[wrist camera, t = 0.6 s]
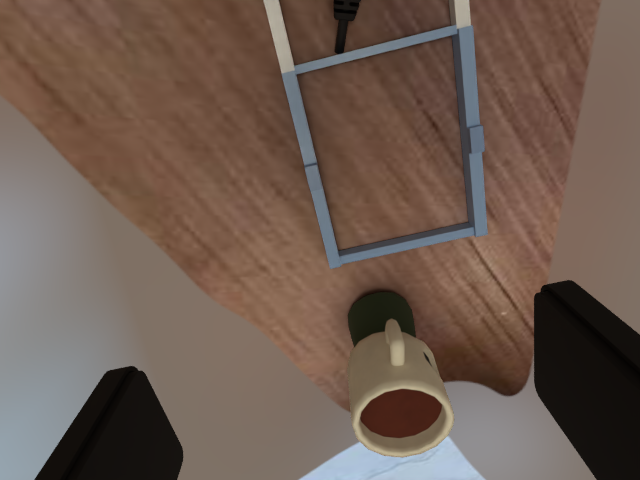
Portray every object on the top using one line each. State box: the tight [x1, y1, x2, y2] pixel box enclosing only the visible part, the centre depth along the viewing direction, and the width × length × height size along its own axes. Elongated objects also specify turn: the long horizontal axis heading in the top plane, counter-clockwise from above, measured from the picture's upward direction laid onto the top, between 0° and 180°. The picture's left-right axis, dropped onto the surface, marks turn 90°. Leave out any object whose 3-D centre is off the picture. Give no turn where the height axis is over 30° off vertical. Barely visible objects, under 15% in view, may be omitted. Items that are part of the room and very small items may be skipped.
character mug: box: [347, 292, 454, 457], centre depth 34 cm, size 11×7×13 cm, turn 5°
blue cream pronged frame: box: [264, 0, 488, 269], centre depth 30 cm, size 31×14×2 cm, turn 13°
